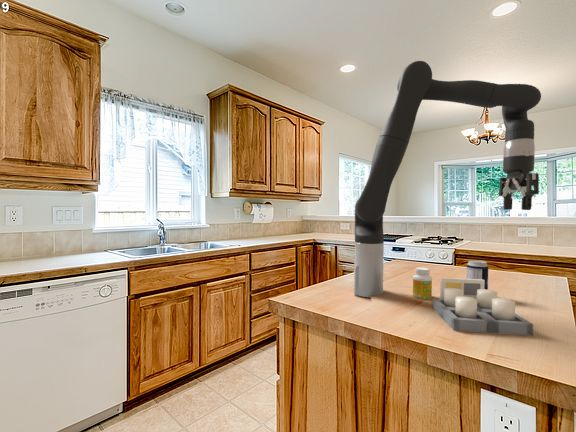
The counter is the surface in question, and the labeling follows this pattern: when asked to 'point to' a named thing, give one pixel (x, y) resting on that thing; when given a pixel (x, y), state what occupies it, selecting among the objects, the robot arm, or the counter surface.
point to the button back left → (451, 296)
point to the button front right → (503, 309)
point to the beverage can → (478, 271)
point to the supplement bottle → (422, 284)
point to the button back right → (485, 298)
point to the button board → (484, 316)
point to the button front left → (466, 307)
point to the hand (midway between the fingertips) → (516, 209)
